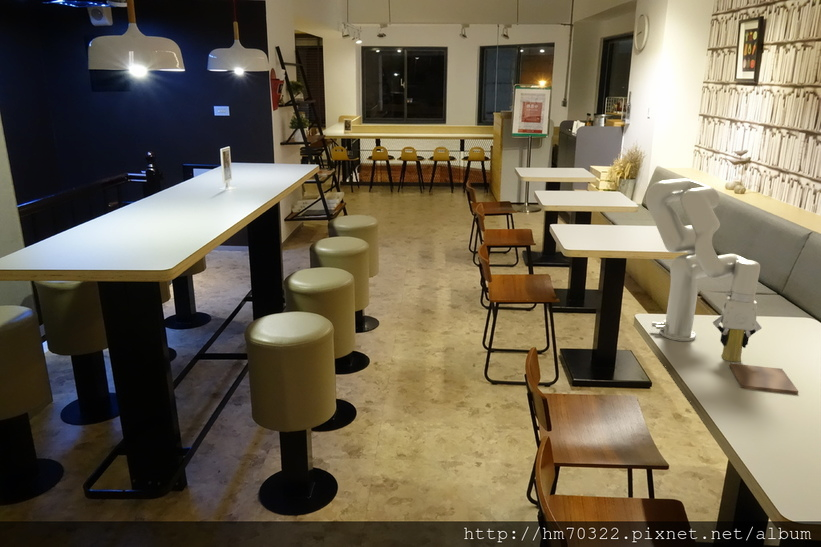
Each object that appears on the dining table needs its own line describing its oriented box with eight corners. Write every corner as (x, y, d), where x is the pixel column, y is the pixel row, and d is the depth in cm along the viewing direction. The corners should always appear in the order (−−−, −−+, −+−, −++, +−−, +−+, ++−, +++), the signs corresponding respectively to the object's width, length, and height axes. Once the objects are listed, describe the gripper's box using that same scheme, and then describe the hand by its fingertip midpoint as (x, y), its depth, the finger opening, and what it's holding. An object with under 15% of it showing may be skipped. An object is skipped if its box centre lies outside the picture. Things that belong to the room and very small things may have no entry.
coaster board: (741, 387, 198) (742, 385, 197) (729, 366, 213) (730, 363, 212) (797, 394, 194) (798, 391, 194) (781, 371, 209) (782, 368, 209)
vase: (742, 362, 215) (750, 324, 211) (723, 361, 216) (730, 322, 212) (737, 355, 221) (744, 317, 217) (719, 353, 222) (725, 316, 218)
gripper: (717, 297, 210) (708, 347, 216) (773, 302, 206) (763, 352, 212) (712, 290, 217) (704, 338, 222) (766, 294, 213) (757, 343, 219)
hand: (733, 344), depth 217 cm, fingers closed on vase, 5 cm apart
